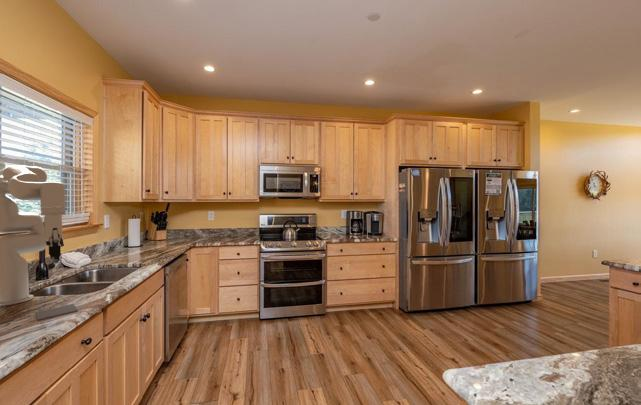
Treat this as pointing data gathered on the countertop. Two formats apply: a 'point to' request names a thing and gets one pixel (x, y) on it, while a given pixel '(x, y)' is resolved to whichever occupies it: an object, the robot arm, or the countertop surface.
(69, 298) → the countertop surface
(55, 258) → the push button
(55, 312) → the charcoal mat
